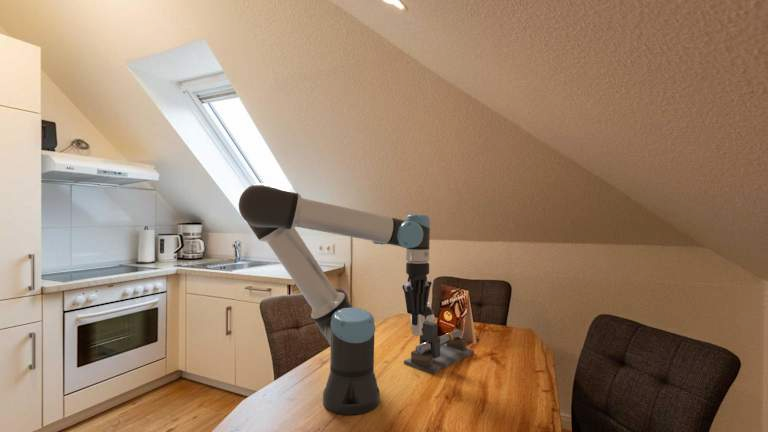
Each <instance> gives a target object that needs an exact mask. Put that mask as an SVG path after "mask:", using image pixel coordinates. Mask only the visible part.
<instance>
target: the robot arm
mask: <svg viewBox="0 0 768 432" xmlns="http://www.w3.org/2000/svg"><path fill="white" fill-rule="evenodd" d="M238 210H239V213H240V215H241V217H242V218H243V220H244V221H245V222H246V223H247V224H248V226H249V227H250V229H251V230H252V232H253V234H254V235H255V237H257V240H258V241H261V242H265V243H267V244H268V246H269V247H270V248H271V250H272V251H273V253H274V255H275V256H276V258H277V259H278V260H279V262H280V263H281V265H282V266H283V268H284V269H285V270H286V272H287V273H288V275H289V277H290V278H291V279H292V281H293V282H294V284H295V285H296V287H297V288H298V289H299V292H300V293H301V295H302V296H303V297H304V298H305V300H306V302H307V303H308V304H309V306H310V307H311V314H310V316H311V319H312V320H313V321H314V323H315V324H316V325H317V327H318V329H319V331H320V332H321V334H322V335H323V337H325V338H324V339H326V341H327V343H328V344H329V346H330V347H329V348H330V357H329V359H330V360H329V361H330V367H329V368H330V371H329V374H328V378H327V381H326V385H325V388H324V390H323V391H322V403H323V406H324V407H325V408H326V410H328V411H330V412H332V413H335V414H339V415H346V416H352V415H353V416H355V415H356V416H357V415H362V414H365V413H368V412H371V411H372V410H374V409H375V408H377V407H378V405H379V404H380V399H381V397H380V396H381V393H380V388H379V387H378V382H377V379H376V374H375V369H374V367H375V366H374V365H375V364H374V363H375V332H376V325H375V317H374V315H373V314H372V313H371V312H370V311H368V310H366V309H362V308H359V307H353V305H352V304H351V302H350V301H349V299H348V297H346V294H345V293H344V292H340V291H337V290H336V289H335V287H334V286H333V284H332V283H331V281H330V280H329V278H328V277H327V274H325V272H324V270H323V269H322V267H321V266H320V264H319V263H318V261H317V260H316V257H315V256H314V255H313V253H312V252H311V251H310V249H309V247H308V246H307V245H306V243H305V242H304V240H303V238H302V237H301V235H300V234H299V232H298V231H297V229H296V228H303V229H307V230H312V231H317V232H323V233H327V234H334V235H339V236H344V237H348V238H349V237H350V238H354V239H360V240H365V241H371V242H372V243H373V244H375V245H391V246H396V247H400V248H405V249H406V251H405V254H406V255H405V259H406V264H405V267H406V268H405V273H406V274H407V275H408V277H407V283H406V284H403V285H402V286H401V288H402V290H403V293H404V298H405V306H406V312H407V314H409V315H410V316H411V315H412V325H411V326H412V327H411V330H412V331H411V333H412V335H415V336H418V337H420V335H422V334H423V330H422V314H423V315H425V312H424V311H426V310H427V304H428V302H429V297H430V290H431V287H432V281H430V280H428V277H427V276H428V275H429V274H430V263H429V261H430V237H431V236H430V234H431V232H430V231H431V224H430V223H431V221H430V217H429V215H427V214H408V215H406V219H405V220H404V219H400V218H396V217H391V216H386V215H381V214H377V213H372V212H368V211H365V210H360V209H355V208H350V207H345V206H340V205H336V204H331V203H327V202H323V201H317V200H313V199H309V198H305V197H304V198H303V197H302V195H301V194H300V192H295V191H291V190H288V189H284V188H282V187H278V186H276V185H273V184H270V183H264V182H263V183H262V182H261V183H255V184H252V185H250V186H248V187H247V188H245V189H244V190H243V192H242V193H241V195H240V197H239V201H238Z"/></svg>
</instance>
